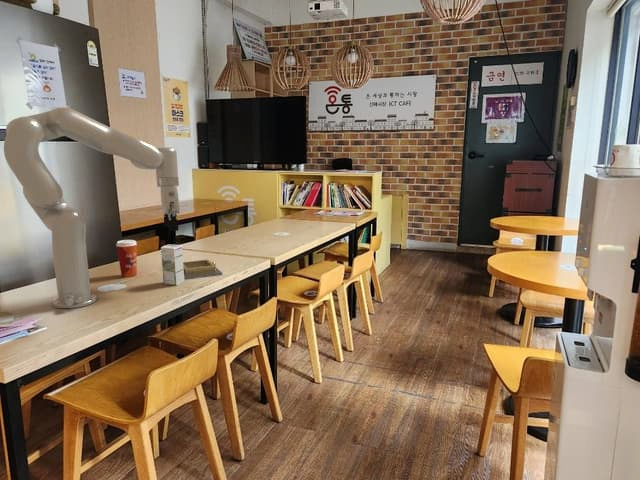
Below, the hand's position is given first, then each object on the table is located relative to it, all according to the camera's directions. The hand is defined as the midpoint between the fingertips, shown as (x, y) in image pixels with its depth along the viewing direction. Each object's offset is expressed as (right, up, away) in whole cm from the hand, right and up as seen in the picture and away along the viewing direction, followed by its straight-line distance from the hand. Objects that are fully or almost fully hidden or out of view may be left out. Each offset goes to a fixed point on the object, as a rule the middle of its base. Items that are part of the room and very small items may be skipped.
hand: (171, 228), depth 168 cm
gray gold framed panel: (+4, -17, +22) cm, 28 cm away
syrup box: (0, -21, +4) cm, 21 cm away
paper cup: (-22, -19, +14) cm, 32 cm away
